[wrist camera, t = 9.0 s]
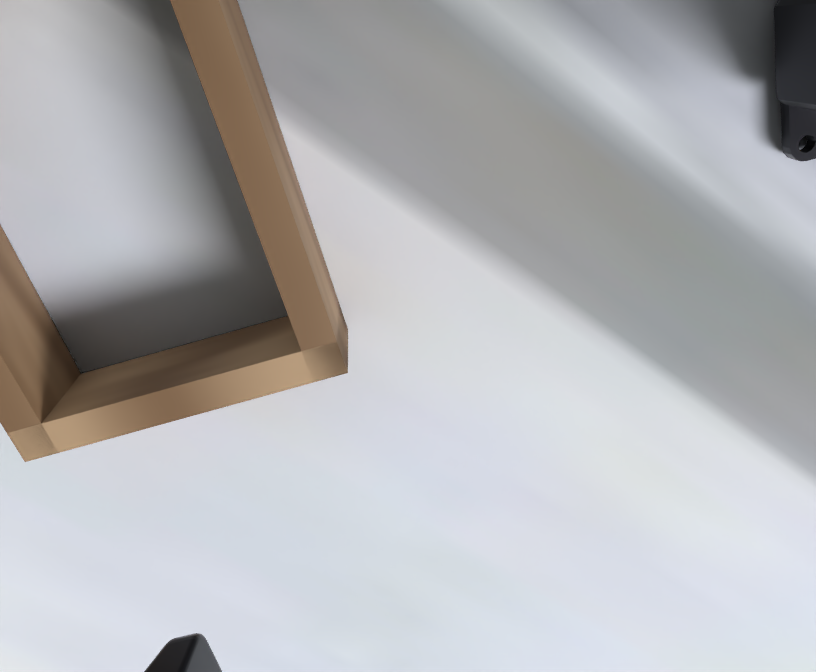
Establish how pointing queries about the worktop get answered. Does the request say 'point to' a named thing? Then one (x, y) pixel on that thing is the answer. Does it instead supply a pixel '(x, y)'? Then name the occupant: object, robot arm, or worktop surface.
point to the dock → (209, 358)
